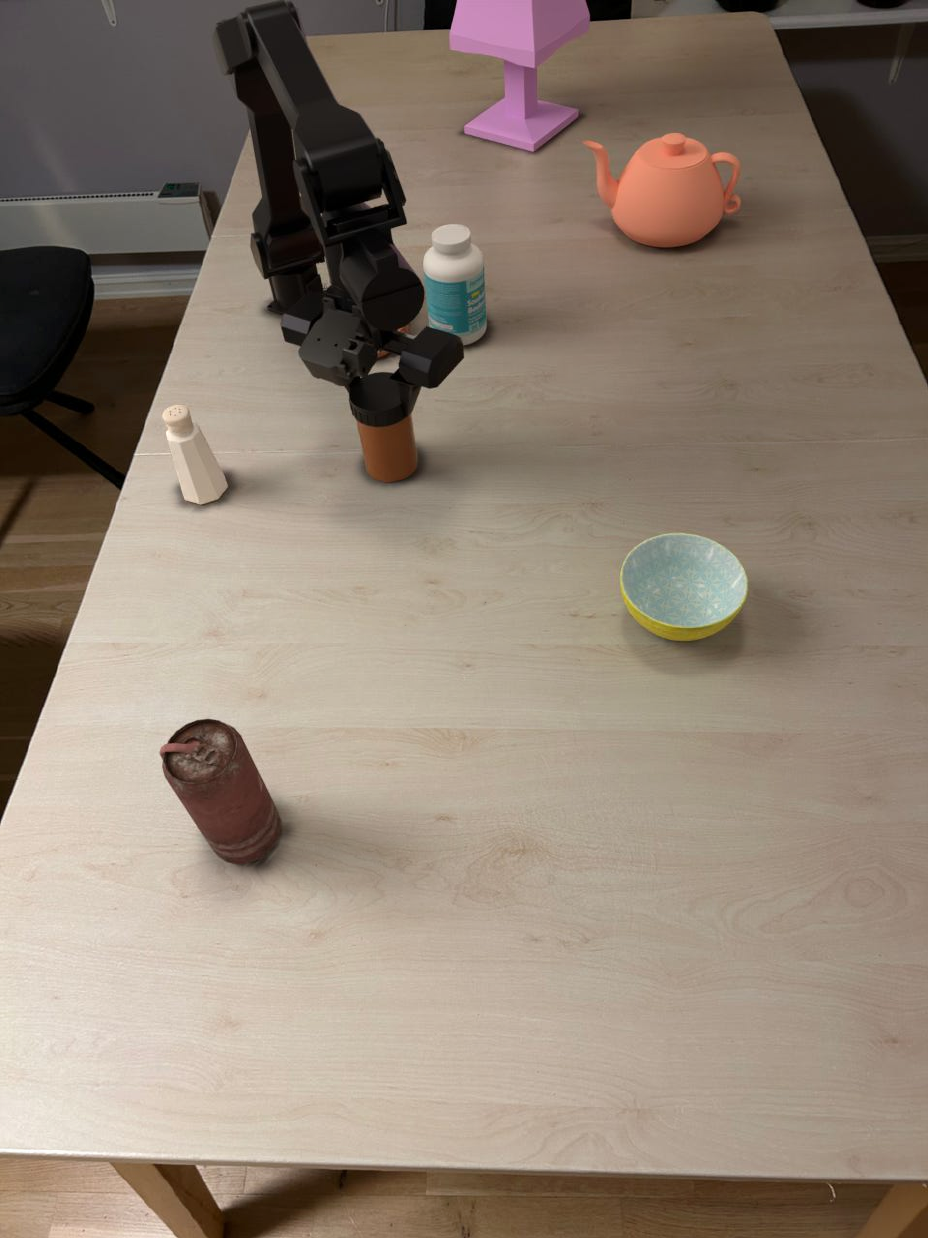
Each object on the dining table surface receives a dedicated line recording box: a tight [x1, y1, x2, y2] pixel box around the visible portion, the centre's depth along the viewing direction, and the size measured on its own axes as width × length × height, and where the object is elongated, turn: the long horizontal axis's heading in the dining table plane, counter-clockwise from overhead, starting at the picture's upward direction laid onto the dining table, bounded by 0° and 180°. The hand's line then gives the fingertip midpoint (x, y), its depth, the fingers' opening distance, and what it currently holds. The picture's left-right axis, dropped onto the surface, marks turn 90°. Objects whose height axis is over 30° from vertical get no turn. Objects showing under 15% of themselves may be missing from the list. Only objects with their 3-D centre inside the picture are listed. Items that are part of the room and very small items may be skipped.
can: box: [158, 718, 282, 865], centre depth 74 cm, size 6×6×14 cm
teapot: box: [582, 132, 742, 248], centre depth 129 cm, size 22×16×12 cm
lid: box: [348, 371, 406, 427], centre depth 99 cm, size 7×7×2 cm
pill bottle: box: [422, 223, 488, 346], centre depth 116 cm, size 8×7×14 cm
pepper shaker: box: [162, 404, 229, 505], centre depth 102 cm, size 5×5×11 cm
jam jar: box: [355, 413, 419, 483], centre depth 103 cm, size 6×6×10 cm
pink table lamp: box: [448, 0, 591, 153], centre depth 142 cm, size 16×16×35 cm
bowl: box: [619, 532, 749, 642], centre depth 88 cm, size 11×12×6 cm
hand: (381, 404), depth 100 cm, fingers closed on lid, 6 cm apart
